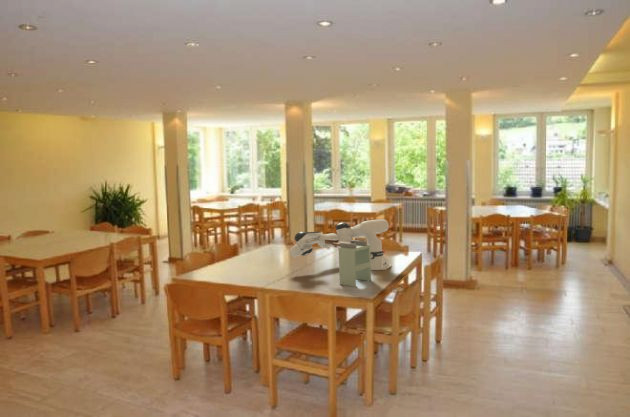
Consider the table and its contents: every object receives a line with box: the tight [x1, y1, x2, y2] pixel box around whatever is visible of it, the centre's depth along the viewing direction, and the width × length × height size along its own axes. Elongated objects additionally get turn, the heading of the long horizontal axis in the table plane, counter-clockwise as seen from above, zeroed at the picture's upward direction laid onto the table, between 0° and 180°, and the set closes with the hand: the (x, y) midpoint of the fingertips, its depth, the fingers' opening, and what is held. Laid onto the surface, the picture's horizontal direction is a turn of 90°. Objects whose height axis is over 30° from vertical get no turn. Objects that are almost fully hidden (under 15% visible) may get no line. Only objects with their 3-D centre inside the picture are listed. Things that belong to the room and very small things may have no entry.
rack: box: [337, 237, 372, 287], centre depth 361 cm, size 20×13×31 cm, turn 139°
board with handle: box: [325, 239, 353, 247], centre depth 368 cm, size 10×20×3 cm, turn 49°
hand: (316, 236), depth 382 cm, fingers open, 8 cm apart
